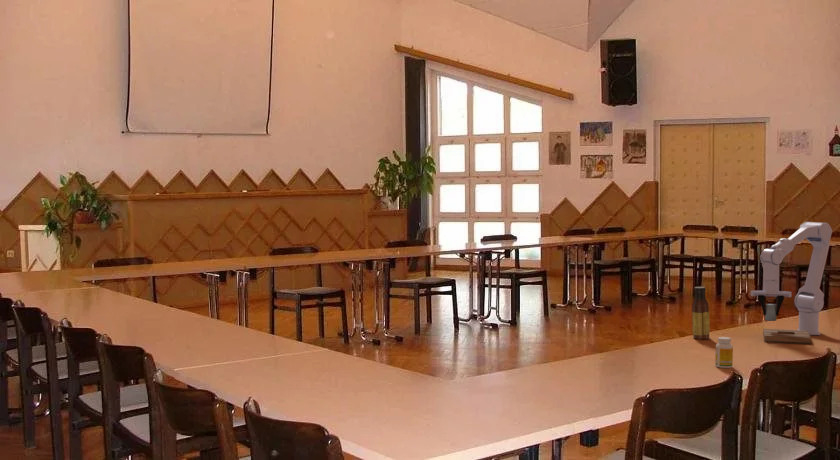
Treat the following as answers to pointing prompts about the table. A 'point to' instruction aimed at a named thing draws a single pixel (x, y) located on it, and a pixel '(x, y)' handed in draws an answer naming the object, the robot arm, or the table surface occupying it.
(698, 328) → the sauce bottle
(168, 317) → the table surface
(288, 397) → the table surface
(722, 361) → the supplement bottle
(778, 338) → the walnut socket block
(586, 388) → the table surface
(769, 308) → the slate pin
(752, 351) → the table surface
